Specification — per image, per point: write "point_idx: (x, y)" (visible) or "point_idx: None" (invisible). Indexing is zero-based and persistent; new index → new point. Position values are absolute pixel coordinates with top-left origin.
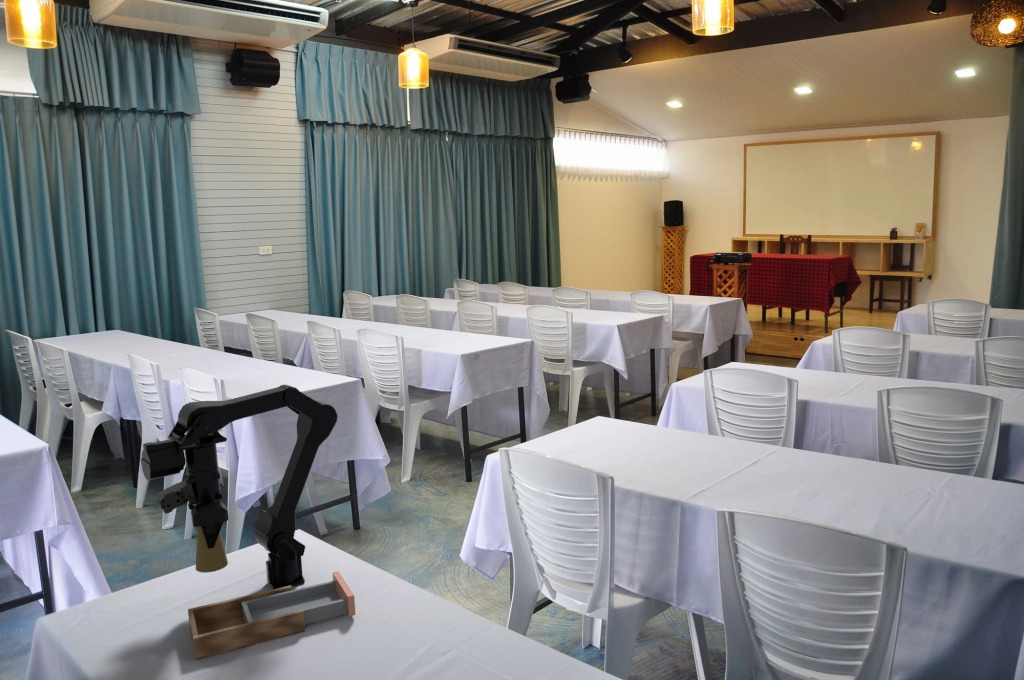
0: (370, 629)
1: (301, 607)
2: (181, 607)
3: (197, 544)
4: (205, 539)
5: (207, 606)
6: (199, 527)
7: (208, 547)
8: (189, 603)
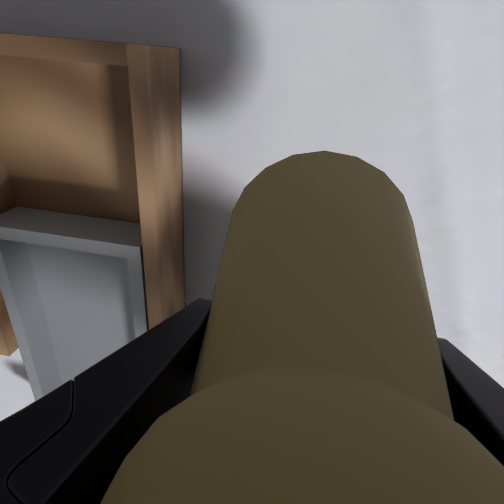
0: (10, 399)
1: (110, 353)
2: (393, 47)
3: (299, 250)
4: (125, 345)
5: (133, 132)
6: (144, 453)
7: (194, 304)
8: (405, 87)
